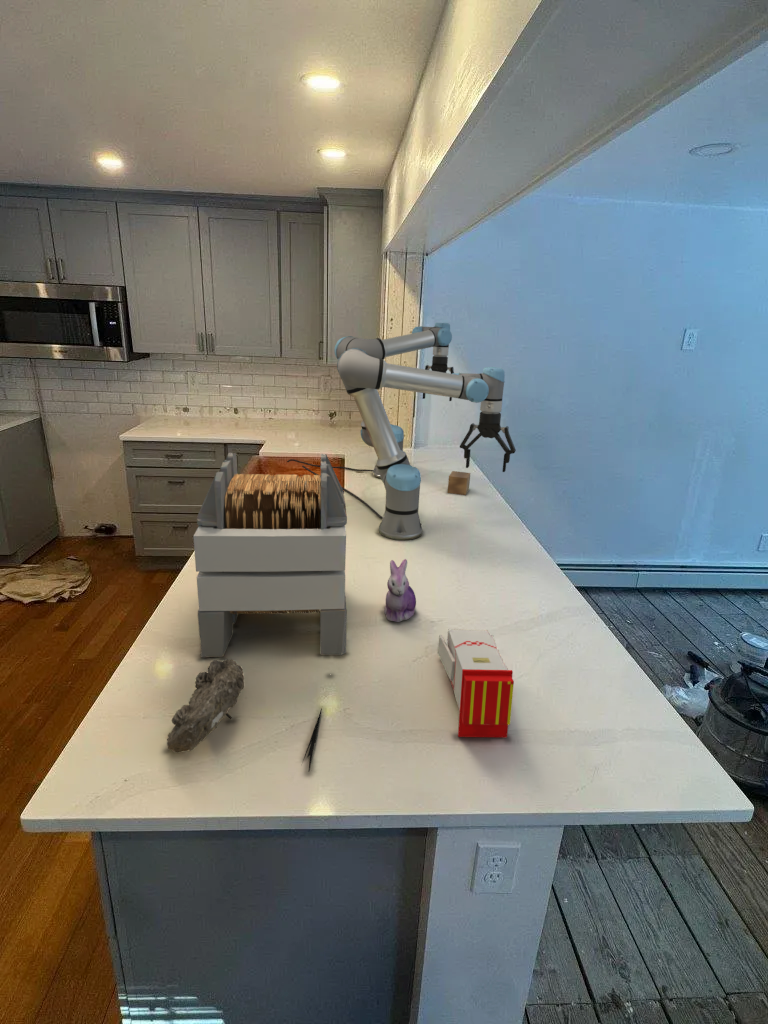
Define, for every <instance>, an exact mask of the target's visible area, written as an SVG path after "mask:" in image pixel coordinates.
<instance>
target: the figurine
mask: <svg viewBox="0 0 768 1024" xmlns="http://www.w3.org/2000/svg"><path fill="white" fill-rule="evenodd" d="M407 567H408V559H406V558H404V559H403V560H402V561H401V563H400V565H399V566H398V565H397V563H396V562H395V561H394V560H393V559H391V560H390V561H389V570H390V576H389V578H388V579H387V589H388V591H387V592H386V594H385V595H386V596H385V607H384V615H385V616H386V620H387V621H391V622H395V623H400V622H402V621H406V620H409V619H410V618H411V617H413V616H414V615H415V610H416V606H417V597H416V593H415V591H414V590H413V587H411V586H410V582H409V579H408V577H407V574H406V571H407Z"/></svg>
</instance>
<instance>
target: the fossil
mask: <svg viewBox="0 0 768 1024" xmlns="http://www.w3.org/2000/svg"><path fill="white" fill-rule="evenodd" d="M243 670H244V669H243V667H242V665H240V664H237V662H236V661H235V660H234V659H232V658H231V659H227V658H226V659H224V660H223V661H222V660H217V659H212V660H211V661H210V663H209V665H208V666H207V671H201V672H199V673H198V674H197V675H196V676H195V680H194V684H195V685H194V687H195V689H194V690H193V693H192V694H191V697H190V698H189V700H188V704H184V705H182V706H181V707H180V709H177V710H176V711H175V713H174V715H173V716H172V718H171V723H172V724H173V727H172V730H171V731H170V732H168V734H167V738H166V741H167V742H166V745H167V749H168V750H169V751H173V752H174V753H176V754H178V753H182V752H188V751H189V752H192V751H193V750H195V748H196V747H197V746H199V744H200V743H201V742H203V741H204V740H205V739H206V738H207V737H208V736H209V735H210V734H211V733H212V732H214V730H215V729H217V727H218V726H219V724H220V722H221V721H222V720H223V719H224V718H225V716H226V717H227V719H229V720H233V717H232V715H230V714H229V710H230V709H231V708H234V706H235V704H236V703H237V702H238V699H239V697H240V695H241V693H242V691H243V690H245V689H244V688H245V675H244V671H243Z"/></svg>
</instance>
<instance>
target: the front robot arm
mask: <svg viewBox="0 0 768 1024" xmlns="http://www.w3.org/2000/svg"><path fill="white" fill-rule="evenodd" d="M336 369H337V372H338V374H339V377H340V379H341V381H342V384H343V386H344V389H345V391H346V394H347V395H349V396H350V397H352V398H353V399H354V403H355V404H356V407H357V409H358V411H359V414H360V416H361V417H360V418H361V419H362V421H363V422H364V424H365V427H366V429H367V432H368V434H369V437H370V439H371V442H372V444H373V447H372V448H373V449H374V453H375V455H376V457H377V459H378V460H376V462H375V465H376V466H377V468H378V471H379V473H380V476H381V481H382V484H383V486H384V488H385V504H384V505H385V507H384V508H385V509H384V513H383V515H382V516H381V514H380V513H378V512H377V511H376V510H375V509H374V508H373V507H372V506H371V505H369V504H368V503H367V502H366V501H364V500H363V499H362V498H360V497H359V496H357V495H356V494H354V492H352V491H350V490H348V489H346V488H345V487H343V486H341V487H342V489H343V491H344V492H347V494H349V495H351V496H352V497H354V498H355V499H356V500H358V501H360V502H361V503H362V504H363V505H365V507H367V508H368V509H369V510H370V511H371V512H372V513H374V515H376V516H377V517H378V518H379V519H380V520H381V522H379V525H378V533H379V534H380V535H381V536H382V537H385V538H387V539H389V540H395V541H410V540H415V539H418V538H420V537H421V536H422V535H423V523H421V518H420V515H419V507H420V506H419V505H420V504H419V503H420V491H421V483H422V477H421V476H422V475H421V471H420V470H419V468H417V467H416V466H413V465H412V464H411V463H410V461H409V458H408V456H407V453H406V451H404V450H403V451H402V450H400V448H399V446H398V443H397V440H396V438H395V435H394V433H393V430H392V427H391V425H390V424H391V422H390V420H389V416H388V414H387V411H386V409H385V407H384V404H383V401H382V399H381V395H380V394H379V390H381V389H383V388H387V389H393V390H401V391H407V392H414V393H420V394H423V393H425V395H426V394H427V395H433V396H441V397H446V398H450V397H452V399H453V398H454V399H459V400H465V401H469V402H471V403H476V404H477V403H480V406H479V407H480V408H479V410H480V412H479V421H478V424H475V423H474V422H473V423H471V424H470V425H469V430H468V431H467V433H466V435H465V436H464V438H463V439H462V441H461V443H460V445H459V448H460V449H462V450H463V458H464V459H465V460H466V461H465V469H468V468H469V467H470V462H471V449H470V448H471V447H472V446H473V445H474V444H475V443H476V442H477V441H478V440H479V439H480V438H481V437H483V439H484V438H485V439H486V438H488V439H495V440H496V441H497V443H498V444H499V445H500V447H501V449H502V450H503V451H504V454H503V463H502V473H505V472H506V469H507V464H509V463H510V460H511V455H512V454H515V453H516V452H517V449H516V448H515V444H514V442H513V439H512V437H511V434H510V430H509V429H510V428H509V426H508V425H507V426H501V419H502V413H501V412H502V410H503V396H504V388H505V383H506V381H505V376H506V375H505V373H506V372H505V369H503V367H502V368H501V367H493V366H492V367H490V366H489V367H484V368H483V371H482V372H481V373H468V372H467V373H466V372H465V373H463V372H457V373H455V372H454V373H453V374H451V373H450V372H446V373H443V372H437V371H432V370H431V369H429V370H425V368H419V367H412V366H406V365H400V364H393V363H388V362H387V361H386V360H385V359H378V358H374V357H371V356H369V355H368V354H367V353H366V352H365V351H363V350H361V349H358V348H352V349H348V350H347V351H345V352H344V353H342V354H341V356H340V357H339V359H337V364H336ZM475 430H478V433H477V435H476V436H475V437H474V438H473V439H471V441H470V442H468V440H469V439H470V437H471V435H472V434H473V432H474V431H475ZM500 432H502V433H503V434H504V437H505V439H506V442H507V444H508V445H507V444H506V442H505V441H504V440H503V438H502V436H501V435H500V434H499V433H500ZM467 442H468V443H467ZM301 467H302V468H303V469H304V470H306V471H308V472H309V473H311V474H312V475H313V476H314V475H319V474H318V473H316V472H314V471H312V470H311V469H309V468H308V467H307V466H305V465H304V464H303V465H301ZM320 478H321V475H320Z"/></svg>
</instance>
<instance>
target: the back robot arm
mask: <svg viewBox="0 0 768 1024" xmlns="http://www.w3.org/2000/svg"><path fill="white" fill-rule="evenodd" d="M452 340H453V333H452V331H451V324H450V323H448V322H435V323H434V325H433V326H421V325H420V326H415V327H414V328H412V331H411V333H408V334H403V335H398V336H394V337H388V338H384V339H381V338H380V337H376V338H362V337H355V336H352V335H348V336H344V337H341V338H339V339H338V340H337V341H336V344H335V346H334V356H335V358H336V359H337V360H338V359H339V357H340V356H341V354H342V353H344V352H345V351H347V350H348V349H352V348H358V349H361V350H363V351H365V352H366V353H367V354H368V355H369V356H371V357H374V358H378V359H384V360H385V359H386V358H389V357H393V356H398V355H402V354H406V353H412V352H416V351H419V350H424V349H429V348H432V355H433V356H432V358H431V359H432V360H431V365H429V364H426V365H425V367H424V369H425V370H431V371H437V372H443V373H447V371H449V373H450V374H453V373H455V369H454V366H448V361H449V357H448V356H449V350H450V349H449V348H450V344H451V342H452ZM448 398H449V400H448V401H449V402H452V400H453V397H448ZM424 399H426V393H422V400H424ZM390 425H391V427H392V430H393V433H394V435H395V438H396V440H397V443H398V446H399V448H400V450H402V451H404V439H405V434H404V429H403V428H402V427H401V426H399V425H396V424H393V423H390ZM360 427H361V429H360V438H361V440H362V442H364V443H365V444H366V445H367V446H369V447H372V448H374V447H373V444H372V442H371V439H370V437H369V434H368V432H367V429H366V427H365V424H364V422H363V420H362V421H361V422H360ZM377 460H378V458H377ZM377 460H376V461H377ZM286 462H287V463H289V462H297V463H300V464H303V465H307V466H310V467H314V468H315V467H316V468H321V465H317V464H312V463H308V462H305V461H301V460H297V459H294V458H291V459H288V460H287V461H286ZM332 468H333V469H344V470H350V471H354V472H372V476H373V477H374V478H377V479H381V476H380V473H379V471H378V468H377V466H376V464H375V465H374V467H373V469H357V468H351V467H346V466H332ZM381 480H382V479H381Z"/></svg>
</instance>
